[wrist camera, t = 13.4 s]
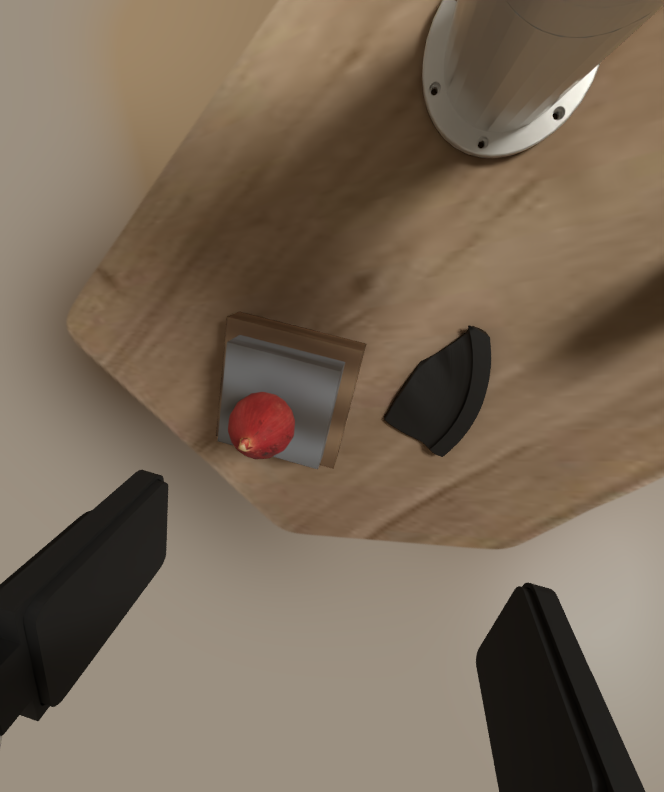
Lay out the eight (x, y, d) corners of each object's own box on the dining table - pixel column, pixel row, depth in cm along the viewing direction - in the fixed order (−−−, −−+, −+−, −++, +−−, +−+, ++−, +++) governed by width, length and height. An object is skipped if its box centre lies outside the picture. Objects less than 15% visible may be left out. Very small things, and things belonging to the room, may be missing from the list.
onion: (315, 418, 36) (293, 463, 28) (270, 443, 38) (239, 491, 30) (280, 369, 34) (248, 403, 27) (235, 398, 36) (194, 437, 29)
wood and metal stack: (239, 311, 39) (213, 322, 34) (366, 343, 38) (360, 360, 33) (227, 424, 45) (203, 449, 39) (337, 454, 44) (328, 484, 38)
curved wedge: (525, 354, 36) (530, 359, 35) (442, 452, 42) (444, 459, 40) (454, 311, 36) (456, 314, 34) (380, 415, 42) (379, 421, 40)
